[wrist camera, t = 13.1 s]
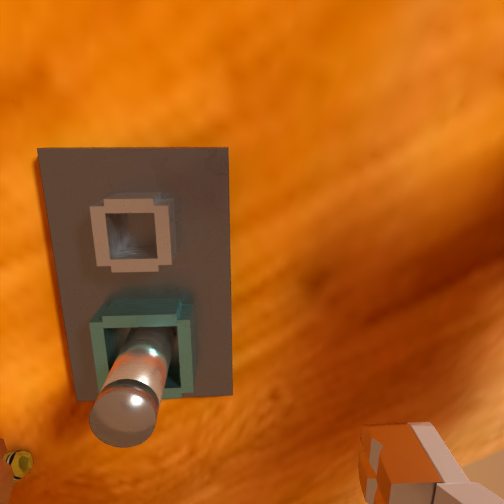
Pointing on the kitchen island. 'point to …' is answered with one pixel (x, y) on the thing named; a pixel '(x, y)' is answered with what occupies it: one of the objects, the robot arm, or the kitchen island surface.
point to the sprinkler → (19, 463)
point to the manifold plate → (143, 258)
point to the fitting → (133, 388)
